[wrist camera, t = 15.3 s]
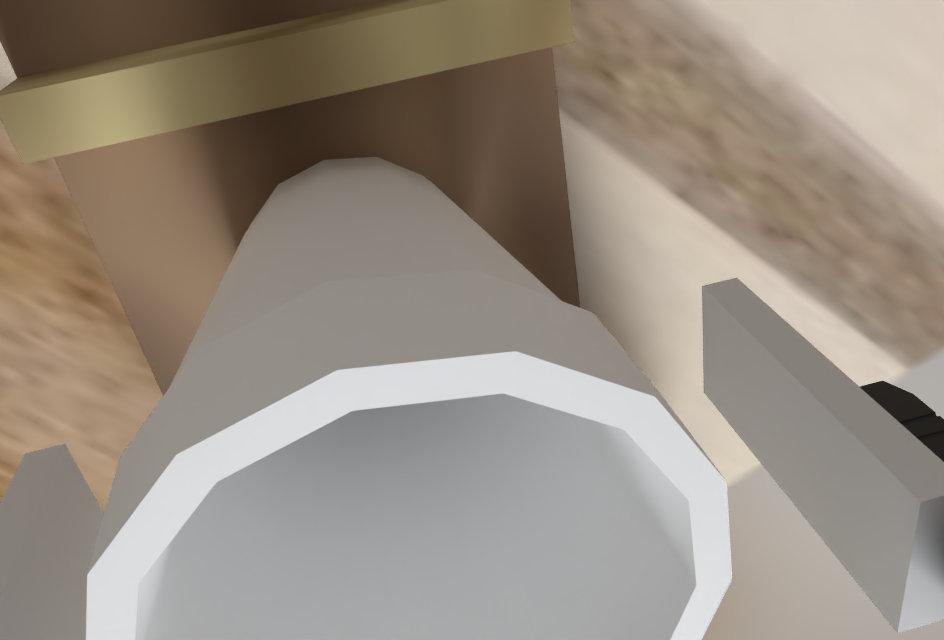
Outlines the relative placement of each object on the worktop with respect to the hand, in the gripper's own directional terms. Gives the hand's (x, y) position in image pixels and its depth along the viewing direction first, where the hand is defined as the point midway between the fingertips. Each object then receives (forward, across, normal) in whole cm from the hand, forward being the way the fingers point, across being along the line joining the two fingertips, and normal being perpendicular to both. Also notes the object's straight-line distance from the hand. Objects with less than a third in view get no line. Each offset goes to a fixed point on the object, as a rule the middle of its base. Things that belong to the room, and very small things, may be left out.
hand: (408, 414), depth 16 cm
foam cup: (+8, 0, 0) cm, 8 cm away
